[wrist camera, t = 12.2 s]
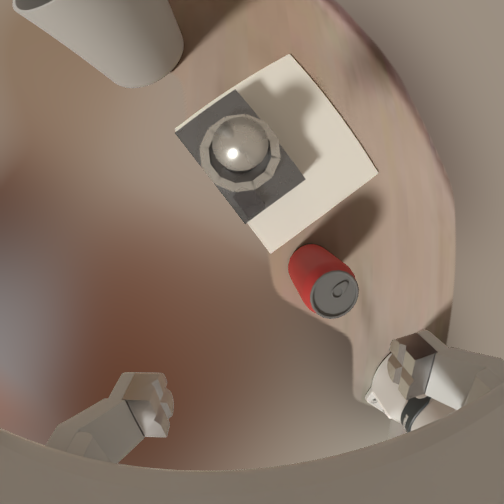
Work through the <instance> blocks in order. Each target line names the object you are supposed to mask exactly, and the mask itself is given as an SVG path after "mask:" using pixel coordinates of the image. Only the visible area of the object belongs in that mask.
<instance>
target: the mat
mask: <svg viewBox="0 0 504 504" xmlns="http://www.w3.org/2000/svg"><path fill="white" fill-rule="evenodd" d="M235 89H236V90H237V92H238V93H239V94H240V95H241V96H242V97H243V99H244V100H245V101H246V102H247V103H248V105H249V106H250V107H251V108H252V109H253V111H254V112H255V113H256V114H257V116H258V117H259V118H260V119H261V120H262V121H265V122H264V123H267V124H268V126H269V127H270V128H271V129H272V131H273V132H274V133H275V135H276V136H277V137H278V138H277V139H278V140H279V144H280V145H281V146H282V147H283V149H284V150H285V151H286V153H287V154H288V155H289V157H290V158H291V160H292V161H293V162H294V164H295V165H296V166H297V168H298V169H299V170H300V172H301V173H302V175H303V176H304V177H305V179H306V180H304V181H303V182H302V183H300V184H299V185H298V186H296V187H295V188H293V189H292V190H291V191H289V192H288V193H287V194H285V195H284V196H282V197H281V198H280V199H278V200H277V201H276V202H274V203H273V204H272V205H270V206H269V207H267V208H266V209H265V210H263V211H262V212H261V213H259V214H258V215H257V216H255V217H254V218H253V219H251V220H250V221H249V222H247V223H248V224H249V226H250V227H251V229H252V230H253V231H254V232H255V234H256V235H257V236H258V238H259V239H260V240H261V241H262V243H263V244H264V246H265V247H266V248H267V250H268V251H269V252H270V254H271V253H272V252H274V251H275V250H276V249H278V248H279V247H280V246H282V245H283V244H285V243H286V242H287V241H289V240H290V239H291V238H293V237H294V236H295V235H297V234H298V233H299V232H301V231H302V230H303V229H305V228H306V227H308V226H309V225H310V224H312V223H313V222H314V221H316V220H317V219H318V218H320V217H321V216H322V215H324V214H325V213H326V212H328V211H329V210H330V209H332V208H333V207H334V206H336V205H337V204H338V203H340V202H341V201H342V200H344V199H345V198H346V197H348V196H349V195H350V194H352V193H353V192H354V191H356V190H357V189H358V188H360V187H361V186H362V185H364V184H365V183H366V182H368V181H369V180H370V179H372V178H373V177H374V176H375V175H377V174H378V172H377V170H376V168H375V167H374V165H373V164H372V162H371V160H370V159H369V157H368V156H367V154H366V153H365V151H364V149H363V148H362V146H361V145H360V143H359V142H358V140H357V139H356V137H355V136H354V134H353V133H352V132H351V130H350V129H349V127H348V126H347V124H346V123H345V122H344V120H343V119H342V117H341V116H340V115H339V113H338V112H337V111H336V109H335V108H334V107H333V105H332V104H331V103H330V101H329V100H328V99H327V98H326V96H325V95H324V94H323V92H322V91H321V90H320V89H319V87H318V86H317V85H316V84H315V83H314V81H313V80H312V79H311V78H310V77H309V75H308V74H307V73H306V72H305V71H304V70H303V68H302V67H301V66H300V65H299V64H298V63H297V62H296V60H295V59H294V58H293V57H292V56H291V55H290V54H288V55H287V56H285V57H283V58H281V59H279V60H277V61H276V62H274V63H272V64H270V65H268V66H267V67H265V68H263V69H262V70H260V71H258V72H256V73H255V74H253V75H251V76H250V77H248V78H247V79H245V80H243V81H242V82H240V83H239V84H237V85H236V86H234V87H232V88H231V89H229V90H228V91H226V92H225V93H223V94H222V95H220V96H219V97H217V98H216V99H215V100H213V101H212V102H210V103H209V104H207V105H206V106H205V107H203V108H202V109H200V110H199V111H198V112H196V113H195V114H194V115H192V116H191V117H190V118H188V119H187V120H186V121H184V122H183V123H182V124H180V125H179V126H178V127H177V128H175V130H176V131H178V130H179V129H180V128H182V127H183V126H184V125H185V124H187V123H188V122H189V121H191V120H192V119H193V118H195V117H196V116H197V115H199V114H200V113H202V112H203V111H204V110H206V109H207V108H208V107H210V106H211V105H213V104H214V103H216V102H217V101H218V100H220V99H221V98H223V97H224V96H226V95H227V94H229V93H230V92H232V91H233V90H235Z"/></svg>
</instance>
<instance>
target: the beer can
mask: <svg viewBox="0 0 504 504" xmlns="http://www.w3.org/2000/svg"><path fill="white" fill-rule="evenodd" d="M288 271H289V275H290V277H291V279H292V281H293V283H294V285H295V287H296V289H297V291H298V292H299V294H300V296H301V298H302V300H303V302H304V303H305V305H306V306H307V307H308V308H309V309H310V310H311V311H313V312H315V313H316V314H318V315H320V316H321V317H323V318H329V319H333V318H339V317H341V316H343V315H345V314H346V313H348V312H349V311H350V310H351V309H352V308H353V306H354V305H355V303H356V301H357V298H358V292H359V288H358V284H357V281H356V279H355V276H354V274H353V272H352V271H351V269H350V268H349V267H348V266H347V265H346V264H344V263H343V262H342V261H340V260H339V259H338V258H336V257H335V256H334V255H333V254H331V253H330V252H329V251H327V250H326V249H324V248H323V247H321V246H319V245H315V244H309V245H305V246H302V247H300V248H299V249H298V250H296V251H295V252H294V253H293V255H292V256H291V258H290V261H289V264H288Z"/></svg>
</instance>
